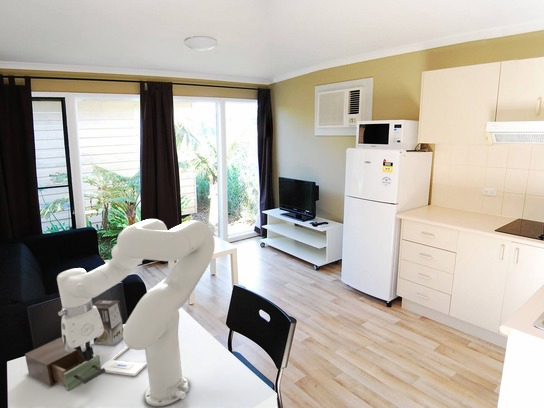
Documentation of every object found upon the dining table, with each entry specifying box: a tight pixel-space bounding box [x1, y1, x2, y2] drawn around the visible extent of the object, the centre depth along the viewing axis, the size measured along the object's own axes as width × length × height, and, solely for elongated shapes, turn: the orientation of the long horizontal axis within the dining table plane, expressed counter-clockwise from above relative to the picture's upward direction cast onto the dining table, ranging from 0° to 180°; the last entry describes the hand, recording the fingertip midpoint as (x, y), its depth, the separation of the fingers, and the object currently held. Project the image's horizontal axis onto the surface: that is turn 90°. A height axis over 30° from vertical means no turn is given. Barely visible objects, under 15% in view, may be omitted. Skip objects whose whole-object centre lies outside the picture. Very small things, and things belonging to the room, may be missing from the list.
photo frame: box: [101, 345, 147, 377], centre depth 130 cm, size 15×1×18 cm
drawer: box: [50, 350, 106, 392], centre depth 118 cm, size 19×10×6 cm, turn 65°
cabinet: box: [24, 336, 79, 387], centre depth 123 cm, size 14×12×8 cm
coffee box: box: [93, 299, 124, 346], centre depth 140 cm, size 9×6×16 cm
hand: (87, 358), depth 114 cm, fingers closed
